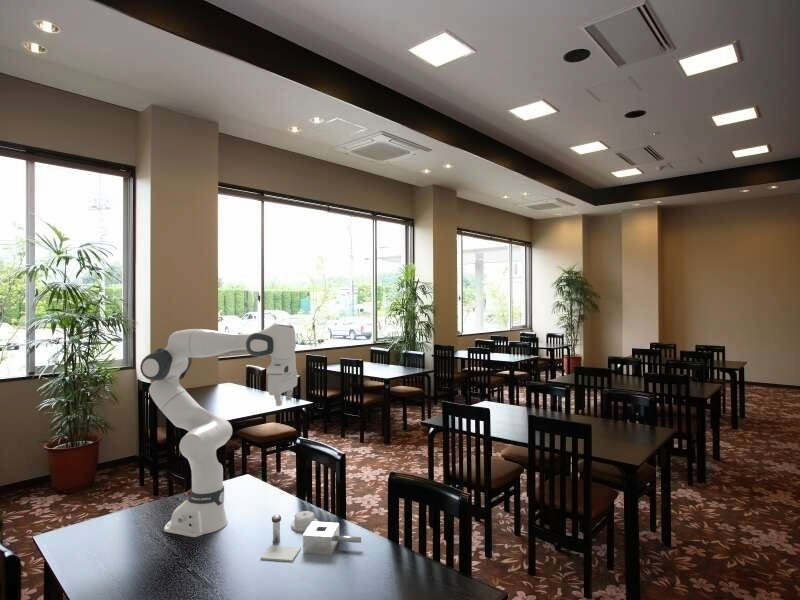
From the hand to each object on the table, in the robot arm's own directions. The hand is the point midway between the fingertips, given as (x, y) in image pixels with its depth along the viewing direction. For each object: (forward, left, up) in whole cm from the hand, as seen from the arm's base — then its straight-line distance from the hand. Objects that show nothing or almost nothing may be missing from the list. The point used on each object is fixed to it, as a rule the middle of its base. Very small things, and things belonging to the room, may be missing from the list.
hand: (283, 402), depth 176 cm
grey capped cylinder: (0, -8, -48) cm, 48 cm away
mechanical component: (+6, +5, -48) cm, 49 cm away
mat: (+5, -16, -48) cm, 51 cm away
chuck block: (+22, -9, -48) cm, 53 cm away
